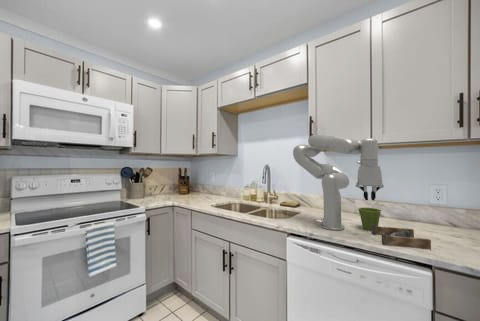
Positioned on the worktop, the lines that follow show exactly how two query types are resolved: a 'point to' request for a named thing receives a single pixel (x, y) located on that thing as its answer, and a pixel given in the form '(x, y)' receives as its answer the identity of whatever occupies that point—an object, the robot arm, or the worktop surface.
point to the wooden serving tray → (400, 238)
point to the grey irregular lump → (402, 234)
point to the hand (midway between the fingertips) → (369, 199)
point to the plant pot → (369, 217)
